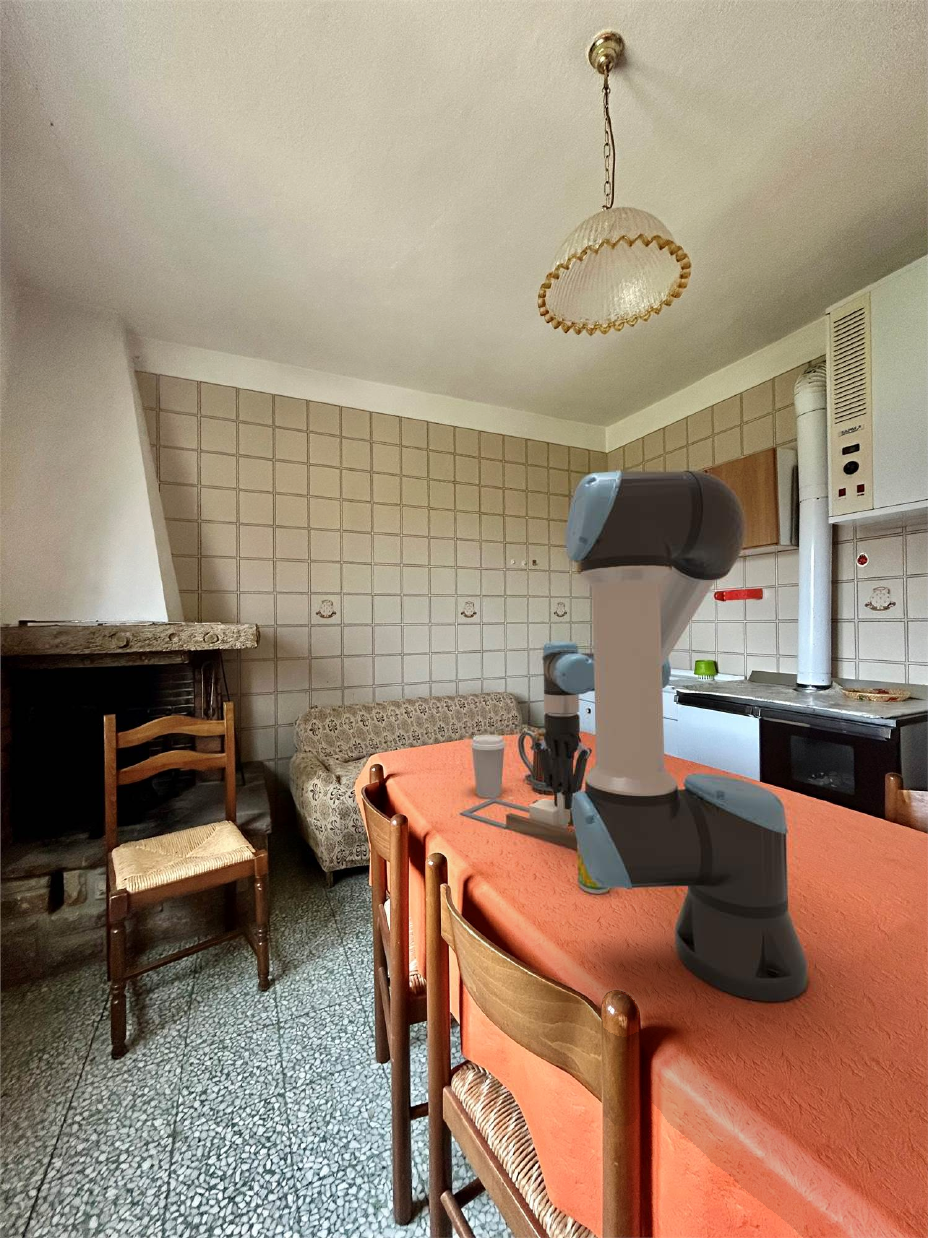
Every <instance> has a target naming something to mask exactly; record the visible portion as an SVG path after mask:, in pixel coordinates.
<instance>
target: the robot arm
mask: <svg viewBox="0 0 928 1238" xmlns="http://www.w3.org/2000/svg"><path fill="white" fill-rule="evenodd" d="M565 531H566V532H565V549H566V556H567V559H569V560H570V561H573V562H574V563H579V569H580V570H579V571H580V572H579V573H580V574H579V575H580V577H581V578H582V579H583V580H584V581H585V582H586V583H587V584H588V585H589V586H590V587H591V590H592V593H591V594H592V597H591V598H592V601H591V602H592V631H593V635H592V637H593V644H592V645H593V652H579V647H578V644H577V643H576V642H574V641H549V642H548V641H547V642H545V643H544V644H543V650H542V657H541V658H542V659H541V660H542V666H543V667H542V670H543V710H544V712H545V714H544V715H543V719H544V721H543V722H544V724H543V725H544V727H543V728H544V731H546V733H545V735H544V739H543V740H541V741H539V742H536V743H535V747H536V749H537V751H538V753H539V756H540V761H541V766H542V770H543V775H544V779H545V784H546V787H548V788H549V787H550V788H551V789H553V791H554V795H553V796H554V797H553V801H554V804H555V806H557V810H558V824H560V825H565V824H567V823H569V822H570V809H572V817H573V824H574V826H573V829H574V832H575V834H576V839H577V843H578V847H579V850H580V853H581V857H582V860H583V862H584V865H585V867H586V870H587V872H588V874H589V875H590V877H591V878H592V880H593V881H594V882H595V883H596V884H598V885H600V886H602V887H607V888H610V889H611V888H615V889H616V888H617V889H625V890H632V889H639V888H640V889H641V888H643V889H645V888H665V887H666V888H668V887H687V892H686V895H685V898H684V900H683V904H682V906H681V909H680V912H679V915H678V918H677V920H676V923H675V927H674V928H675V930H674V932H675V935H674V936H675V937H674V939H675V940H674V941H675V944H674V945H675V950H676V953H677V955H678V958H679V959H680V961H681V962H682V964H684V966H686V968H687V969H688V970H689V971H691V973H693V974H694V975H695V976H697V977H698V978H699V979H700V980H702V981H704V982H705V983H707V984H709V985H711V986H713V987H714V988H717V989H719V990H721V991H723V992H726V993H728V994H731V995H734V996H737V997H740V998H744V999H749V1000H753V1001H762V1002H782V1001H788V1000H791V999H794V998H797V997H798V996H800V995H801V994H802V993H804V991H805V990H806V988H807V985H808V966H807V965H808V963H807V958H806V955H805V952H804V949H803V946H802V944H801V941H800V939H799V936H798V934H797V931H796V928H795V926H794V922H793V920H792V917H791V914H790V911H789V888H788V887H789V886H788V879H789V878H788V854H787V853H788V850H787V849H788V847H787V845H788V844H787V843H788V842H787V835H788V834H789V830H788V828H787V818H786V810H785V806H784V804H783V801H782V800H781V799H780V797H778V796H777V795H776V794H775V793H774V792H772V791H771V790H769V789H766V788H764V787H762V786H760V785H757V784H754V783H751V782H749V781H745V780H741V779H738V778H733V777H728V776H724V775H720V774H712V773H711V774H710V773H692V774H689V775H687V776H686V777H685V779H684V781H683V787H684V788H681V789H680V788H679V786H678V785H679V784H678V781H677V779H676V778H675V777H674V776H672V775H671V773H669V771H667V769H666V767H665V735H664V700H663V696H664V695H663V689H664V688H666V687H667V686H668V685H669V683H670V677H671V674H672V668H671V664H670V659H669V657H670V655H671V654H672V651H673V650H674V648H675V647H676V645H677V643H678V642H679V640H680V639H681V637H682V636H683V634H684V632H685V631H686V629H687V627H688V626H689V624H690V622H691V621H692V619H693V617H694V616H695V614H696V613H697V611H698V609H699V608H700V606H701V604H702V602H703V601H704V599H705V598H706V597H707V595H708V593H709V591H710V590H711V588H712V586H713V585H714V583H715V582H716V581H720V580H722V579H723V578H725V577H726V576H728V575H729V573H730V572H731V570H732V568H733V567H734V565H735V564H736V562H737V560H738V558H739V557H740V554H741V552H742V550H743V546H744V541H745V537H746V517H745V514H744V509H743V506H742V504H741V501H740V499H739V498H738V496H737V494H736V493H735V491H733V489H732V488H731V487H730V486H729V485H728V484H727V483H726V482H725V481H723V480H722V479H720V478H718V477H717V476H716V475H714V474H710V473H708V472H705V471H699V470H683V471H676V470H675V471H659V470H658V471H657V470H656V471H654V470H653V471H651V470H649V471H647V470H646V471H643V470H642V471H641V470H640V471H639V470H637V471H635V470H625V471H624V470H620V469H619V470H614V471H607V472H606V471H605V472H594V473H589V474H588V475H586V476H585V477H583V478H582V479H581V480H580V481H579V483H578V485H577V487H576V488H575V491H574V494H573V496H572V499H571V503H570V507H569V512H568V517H567V523H566V529H565ZM589 692H594V721H595V723H594V724H595V725H594V727H595V730H594V731H595V765H594V766H593V767H591V768H590V770H588V772H586V768H587V764H588V763H587V762H588V759H589V757H590V756H591V754H592V752H593V750H592V749H591V748H590V747H588V748H587V747H586V746H585V745H583V744H582V740H581V737H580V729H581V727H580V726H581V725H580V724H581V723H580V722H581V721H580V715H579V713H578V712H580V695H584V694H588V693H589ZM548 747H549V749H550V751H551V757H550V752H549V749H548ZM575 754H576V755H577V758H576V761H575V766H574V760H575ZM551 760H552V761H551ZM585 773H586V774H585ZM583 782H585V783H584V785H585V787H584V789H585V790H584V791H583V790H582V787H583ZM678 788H679V789H678ZM562 789H563V791H562Z"/></svg>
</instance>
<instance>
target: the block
mask: <svg viewBox="0 0 928 1238" xmlns="http://www.w3.org/2000/svg"><path fill="white" fill-rule="evenodd" d="M528 808H529V812H528V815H529V817H528V818H530V819H533V820H537V821H540V822H544V823H547V824H550V825H554V826H557V827H561V828H564V829H567V828H568V827H569V826H568V823H567V824H565V825H560V824H558V810H557V806H555V804H554V799H553V800H552V799H548V798H546V797H545V798H544V797H543V798H542V799H540V800H539V801H538V802H536V803H534V804H533V803H532V804H530V805H529V807H528Z"/></svg>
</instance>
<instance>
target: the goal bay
mask: <svg viewBox="0 0 928 1238" xmlns="http://www.w3.org/2000/svg"><path fill="white" fill-rule="evenodd" d="M492 804H498V805H501V806H505V807H508V808H511V809H516V810H519V811H523V812H526V813H529V807H527V806H523V805H519V804H516V803H511V802H508V801H505V800H501V799H498V798H492V799H487V801H484V802H481V803H479V804H477V805H475V806H473V807H469V808H468V809H466V810H463V811H461V812H459V816H463V817H466V818H469V819H471V820H472V819H473V820H476V821H478V822H482V823H485V824H487V825H490V826H494V827H497V828H499V829H502V830H503V829H504V830H507V829H506V823H503V822H500V821H497V820H493V819H490V818H488V817H484V816H481V815H478V814H474V813H475V812H476V811H479V810H482V809H484V808H486V807H488V806H490V805H492Z"/></svg>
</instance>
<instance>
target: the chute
mask: <svg viewBox="0 0 928 1238" xmlns="http://www.w3.org/2000/svg"><path fill="white" fill-rule="evenodd" d="M538 801H540V800H539V799H536V800H533V802H532V804H534V803H536V802H538ZM505 824H506V829H505V830H510V831H512V832H516V833H518V834H522V835H525V836H528V837H531V838H534V839H538V840H541V841H544V842H547V843H550V844H553V845H556V846H560V847H563V848H566V849H569V850H571V851H575V852H578V847H577V846H578V843H577V839H576V834H575V830H570V829H567V828H565V829H564V828H561V827H557V826H554V825H550V824H547V823H544V822H540V821H537V820H533V819H530V817H526V816H523V815H519V814H515V813H512V812H509V813H507V814H506V815H505ZM568 825H569V826H571V827H574V824H573V817H572V808H571V809H570V822H569V823H568Z"/></svg>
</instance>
